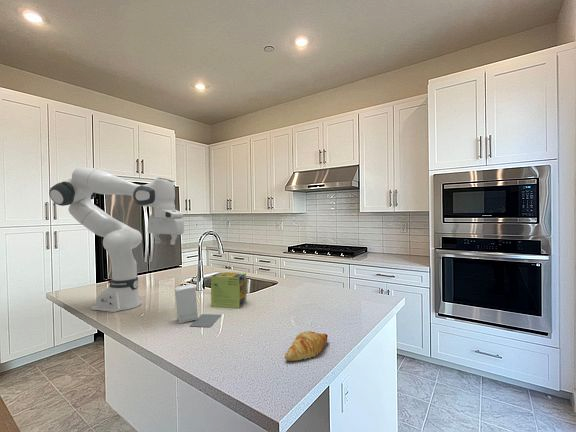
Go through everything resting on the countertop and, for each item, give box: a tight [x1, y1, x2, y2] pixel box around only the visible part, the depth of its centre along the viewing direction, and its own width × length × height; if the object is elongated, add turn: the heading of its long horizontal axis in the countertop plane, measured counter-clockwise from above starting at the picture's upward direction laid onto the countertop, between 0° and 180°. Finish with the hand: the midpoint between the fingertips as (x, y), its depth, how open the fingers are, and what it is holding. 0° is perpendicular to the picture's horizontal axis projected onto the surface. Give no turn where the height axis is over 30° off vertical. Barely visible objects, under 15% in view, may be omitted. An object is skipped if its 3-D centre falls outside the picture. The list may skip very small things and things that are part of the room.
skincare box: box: [174, 283, 199, 324], centre depth 132 cm, size 8×6×15 cm
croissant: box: [284, 330, 328, 362], centre depth 103 cm, size 21×10×8 cm, turn 136°
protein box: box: [210, 271, 247, 309], centre depth 154 cm, size 10×15×16 cm
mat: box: [189, 313, 222, 328], centre depth 132 cm, size 9×14×1 cm, turn 174°
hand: (165, 243), depth 137 cm, fingers open, 8 cm apart
